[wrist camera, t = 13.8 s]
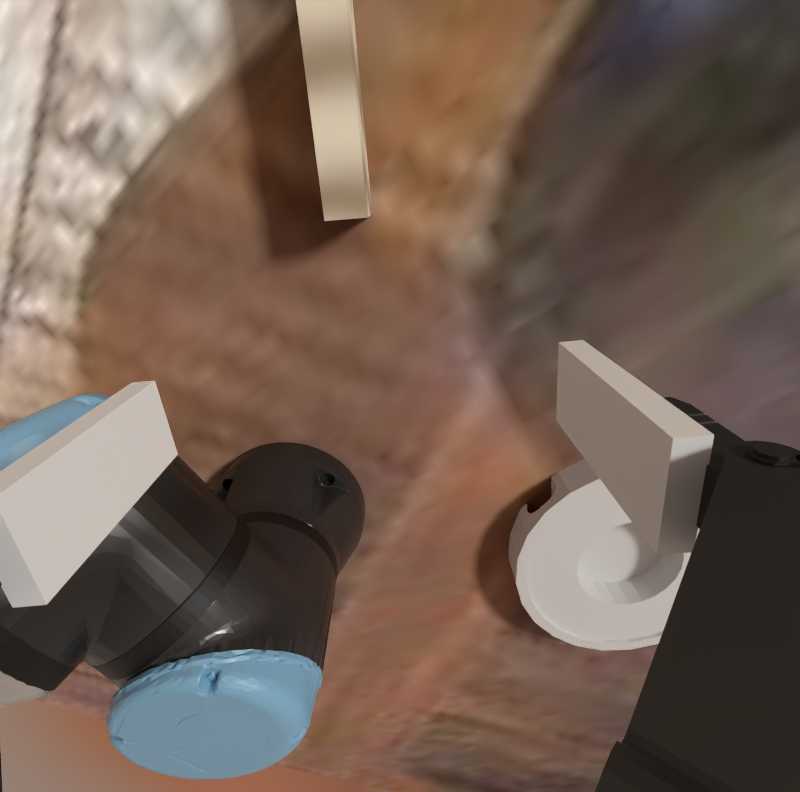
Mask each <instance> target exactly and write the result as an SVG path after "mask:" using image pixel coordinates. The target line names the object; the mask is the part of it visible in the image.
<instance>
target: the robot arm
mask: <svg viewBox="0 0 800 792" xmlns="http://www.w3.org/2000/svg"><path fill="white" fill-rule="evenodd" d="M556 421H557V422H558V424H559V425H560V426H561V428H562V429H563V430H564V432H565V433H566V434H567V436H568V437H569V438H570V440H571V441H572V442H573V444H574V445H575V446H576V448H577V449H578V450H579V452H580V453H581V454H582V456H583V457H584V458H585V460H586V461H587V462H588V464H589V465H590V466H591V468H592V469H593V470H594V472H595V473H596V474H597V476H598V477H599V478H600V480H601V481H602V482H603V484H604V485H605V486H606V488H607V489H608V490H609V492H610V493H611V495H612V496H613V497H614V499H615V500H616V501H617V503H618V504H619V505H620V507H621V508H622V509H623V511H624V512H625V513H626V515H627V516H628V517H629V519H630V520H631V521H632V523H633V524H634V525H635V527H636V528H637V529H638V531H639V532H640V533H641V535H642V536H643V537H644V539H645V540H646V541H647V543H648V544H649V545H650V547H651V548H652V549H653V551H654V552H655V553H656V555H664V554H676V553H688V552H691V555H690V558H689V561H688V563H687V566H686V569H685V572H684V575H683V577H682V580H681V583H680V586H679V588H678V591H677V594H676V597H675V600H674V602H673V605H672V608H671V611H670V613H669V616H668V619H667V622H666V625H665V627H664V630H663V633H662V636H661V638H660V641H659V644H658V647H657V650H656V652H655V655H654V658H653V661H652V663H651V666H650V669H649V672H648V674H647V677H646V680H645V683H644V686H643V688H642V691H641V694H640V697H639V699H638V702H637V705H636V708H635V711H634V713H633V716H632V719H631V722H630V724H629V727H628V730H627V732H626V735H625V737H624V739H623V741H622V743H620V742H618V741H617V742H616V744H615V745H614V747H613V748H612V750H611V753H610V755H609V757H608V760H607V762H606V765H605V767H604V769H603V772H602V775H601V777H600V780H599V783H598V785H597V788H596V791H595V792H800V451H799V450H796V449H794V448H792V447H789V446H785V445H781V444H777V443H772V442H764V441H744V440H742V439H741V438H740V437H738V436H737V435H735V434H734V433H732V432H731V431H729V430H728V429H726V428H725V427H723V426H722V425H720V424H719V423H715V421H714V420H713V419H711V418H710V417H708V416H707V415H704V413H703V412H701V411H700V410H698V409H697V408H695V407H694V406H692V405H691V404H688V403H686V402H683V401H680V400H677V399H675V398H672V397H664V398H663V397H661V396H660V395H658V394H657V393H656V392H654V391H653V390H652V389H650V388H649V387H647V386H646V385H645V384H643V383H642V382H640V381H639V380H638V379H636V378H635V377H633V376H632V375H631V374H629V373H628V372H627V371H625V370H624V369H622V368H621V367H620V366H618V365H617V364H615V363H614V362H613V361H611V360H610V359H608V358H607V357H606V356H604V355H603V354H602V353H600V352H599V351H597V350H596V349H595V348H593V347H592V346H590V345H589V344H588V343H586V342H585V341H583V340H579V341H568V342H559V351H558V381H557V410H556ZM364 516H365V503H364V497H363V494H362V491H361V488H360V486H359V484H358V482H357V480H356V479H355V477H354V476H353V475H352V473H351V472H350V471H349V470H348V469H347V468H346V467H345V466H344V465H343V464H342V463H341V462H340V461H338V460H337V459H336V458H334V457H333V456H331V455H329V454H328V453H326V452H324V451H321V450H319V449H317V448H314V447H311V446H307V445H303V444H297V443H272V444H267V445H263V446H259V447H257V448H254V449H252V450H250V451H248V452H246V453H244V454H243V455H241V456H240V457H238V458H237V459H236V460H235V461H234V462H233V463H232V464H231V465H230V466H229V467H228V469H227V470H226V472H225V473H224V475H223V476H222V478H221V479H220V481H219V483H218V484H217V486H216V488H215V491H213V490H212V489H211V488H210V487H209V486H208V485H207V484H206V483H205V482H204V481H203V480H202V479H201V478H200V477H199V476H198V475H197V474H196V473H195V472H194V471H193V470H192V469H191V468H190V467H189V466H188V465H187V464H186V463H185V462H184V461H183V460H182V459H181V458H180V457H179V456H178V453H177V450H176V447H175V444H174V441H173V437H172V434H171V431H170V428H169V425H168V421H167V418H166V415H165V412H164V409H163V405H162V402H161V399H160V396H159V393H158V389H157V386H156V383H155V381H144V382H134V383H131V384H129V385H128V386H126V387H125V388H123V389H122V390H120V391H119V392H117V393H116V394H114V395H113V396H109V395H106V394H101V393H87V394H82V395H78V396H74V397H71V398H68V399H65V400H63V401H61V402H58V403H56V404H53V405H51V406H49V407H47V408H44V409H42V410H40V411H37V412H35V413H33V414H31V415H29V416H27V417H25V418H23V419H21V420H19V421H16V422H14V423H12V424H10V425H8V426H6V427H4V428H2V429H0V708H1V707H3V706H8V705H12V704H16V703H20V702H25V701H29V700H33V699H37V698H42V697H46V696H48V695H49V694H50V693H51V692H52V691H54V690H55V689H56V688H57V687H58V686H59V685H60V684H61V682H62V681H63V680H64V679H65V678H66V677H67V676H68V675H69V674H70V673H71V672H72V671H73V670H74V669H75V668H76V667H77V666H78V665H79V664H80V663H81V662H83V661H85V662H86V663H88V664H89V665H91V666H93V667H94V668H95V669H97V670H98V671H99V672H101V673H102V674H103V675H105V676H106V677H107V678H108V679H110V680H111V681H112V682H114V683H115V684H116V685H117V686H118V687H119V688H120V690H118V691H117V692H116V693H115V695H114V696H113V698H112V700H111V702H110V706H109V710H110V711H109V714H108V717H107V723H106V726H107V730H108V733H109V734H110V740H111V742H112V744H113V746H114V747H115V748H116V749H117V751H119V752H120V753H121V754H122V755H123V756H124V757H125V758H127V759H128V760H130V761H131V762H133V763H135V764H137V765H139V766H141V767H143V768H146V769H148V770H151V771H154V772H157V773H160V774H164V775H169V776H174V777H178V778H187V779H226V778H233V777H238V776H243V775H247V774H251V773H254V772H257V771H260V770H262V769H264V768H267V767H269V766H271V765H273V764H275V763H277V762H279V761H280V760H282V759H283V758H284V757H286V756H287V755H288V754H289V753H291V752H292V751H293V750H294V749H295V748H296V746H297V745H298V744H299V743H300V742H301V740H302V738H303V737H304V735H305V733H306V731H307V729H308V727H309V724H310V721H311V717H312V713H313V708H314V704H315V700H316V696H317V692H318V690H319V689H320V687H321V682H322V673H323V666H324V659H325V653H326V646H327V639H328V632H329V626H330V619H331V612H332V605H333V599H334V592H335V585H336V579H337V576H338V574H339V573H340V571H341V570H342V568H343V567H344V565H345V564H346V562H347V561H348V559H349V558H350V556H351V554H352V553H353V552H354V550H355V548H356V547H357V545H358V543H359V540H360V538H361V534H362V530H363V524H364ZM698 528H699V529H700V530H699V533H698V536H697V530H698ZM696 536H697V539H696ZM0 792H2V777H1V754H0Z"/></svg>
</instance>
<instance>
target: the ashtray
mask: <svg viewBox="0 0 800 792" xmlns="http://www.w3.org/2000/svg"><path fill="white" fill-rule="evenodd" d="M551 492H552V497H551V498H550V499H549V500H548V501H547V502H546V503H545V504H544V505H542V506H541V507H540V508H539V509H538V510H537V511H535V512H534V513H529V512H527V504H525V505H524V506H523V507H522V509H521V510H520V511H519V513H518V515H517V518H516V520H515V523H514V526H513V528H512V531H511V533H510V539H509V555H508V558H509V562H510V565H511V569H512V572H513V576H514V579H515V583H516V586H517V589H518V593H519V596H520V599H521V603H522V605H523V606H524V608H525V609H526V611H527V612H528V614H529V615H530V616H531V618H532V619H533V621H534V622H535V623H536V624H538V625H539V626H540V627H541V628H543V629H544V630H545V631H547V632H548V633H549V634H551V635H552V636H553V637H556V638H558V639H561V640H563V641H566V642H568V643H570V644H573V645H575V646H580V647H586V648H592V649H597V650H631V649H635V648H640V647H645V646H650V645H655V644H659V641H660V638H661V636H662V633H663V630H664V627H665V625H666V622H667V619H668V616H669V613H670V611H671V608H672V605H673V602H674V600H675V597H676V594H677V591H678V588H679V586H680V583H681V580H682V577H683V575H684V572H685V569H686V566H687V563H688V561H689V558H690V555H691V552H688V553H676V554H664V555H656V553H655V552H654V551H653V549H652V548H651V547H650V545H649V544H648V543H647V541H646V540H645V539H644V537H643V536H642V535H641V533H640V532H639V531H638V529H637V528H636V527H635V525H634V524H633V523H632V521H631V520H630V519H629V517H628V516H627V515H626V513H625V512H624V511H623V509H622V508H621V507H620V505H619V504H618V503H617V501H616V500H615V499H614V497H613V496H612V495H611V493H610V492H609V490H608V489H607V488H606V486H605V485H604V484H603V482H602V481H601V480H600V478H599V477H598V476H597V474H596V473H595V472H594V470H593V469H592V468H591V466H590V465H589V464H588V462H587V461H586V460H585V459H583V460H581V461H579V462H577V463H575V464H573V465H571V466H569V467H567V468H565V469H563V470H561V471H559V472H557V473H556V474H555V475H553V476H552V477H551ZM699 530H700V529H699V528H698V530H697V536H698V533H699ZM697 536H696V539H697Z"/></svg>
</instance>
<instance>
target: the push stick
mask: <svg viewBox="0 0 800 792" xmlns="http://www.w3.org/2000/svg"><path fill="white" fill-rule="evenodd" d="M296 6H297V14H298V21H299V29H300V37H301V45H302V52H303V60H304V68H305V75H306V83H307V91H308V99H309V106H310V114H311V122H312V129H313V137H314V145H315V153H316V160H317V168H318V176H319V184H320V191H321V199H322V207H323V214H324V221H332V220H344V219H356V218H368V217H370V216H372V207H371V197H370V186H369V175H368V164H367V153H366V142H365V132H364V121H363V110H362V99H361V88H360V77H359V67H358V56H357V45H356V34H355V23H354V12H353V2H352V0H296Z"/></svg>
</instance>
